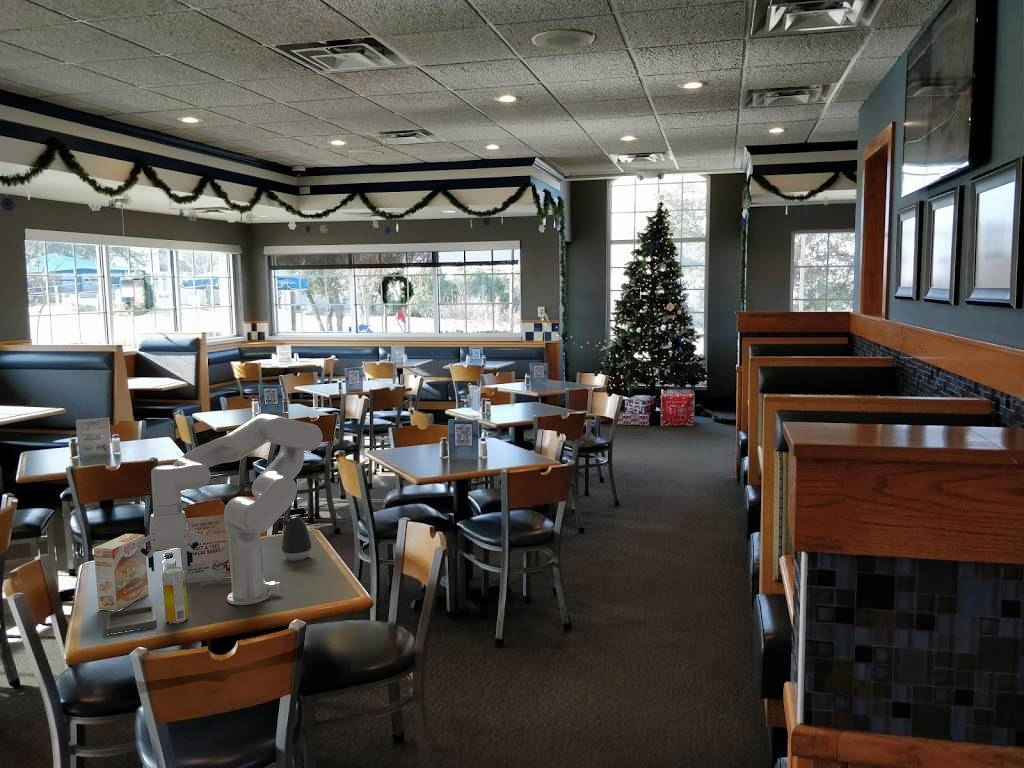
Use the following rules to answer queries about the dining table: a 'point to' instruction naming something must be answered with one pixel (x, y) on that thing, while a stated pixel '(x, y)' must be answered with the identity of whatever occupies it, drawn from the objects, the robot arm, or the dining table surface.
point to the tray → (131, 619)
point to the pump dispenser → (295, 539)
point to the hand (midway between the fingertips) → (171, 567)
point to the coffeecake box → (120, 572)
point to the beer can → (175, 595)
